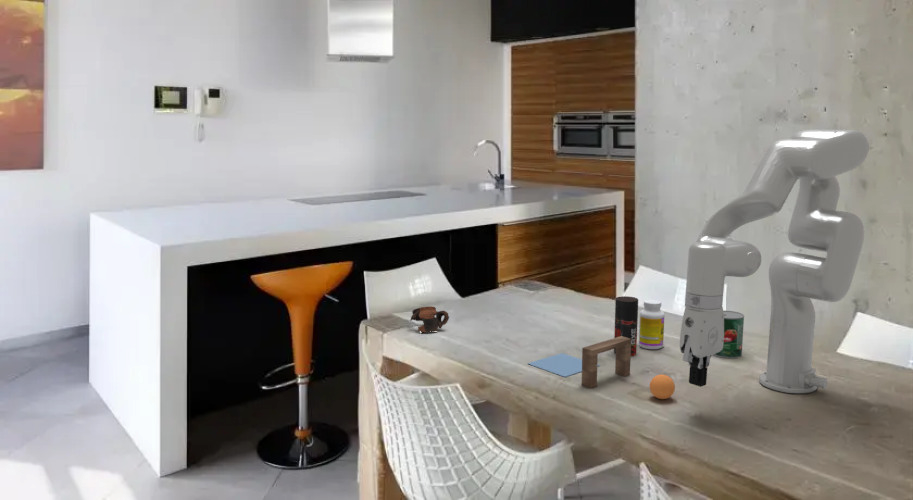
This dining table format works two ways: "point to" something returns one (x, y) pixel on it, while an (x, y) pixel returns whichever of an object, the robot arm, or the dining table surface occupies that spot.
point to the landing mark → (560, 364)
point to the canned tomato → (732, 335)
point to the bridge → (593, 350)
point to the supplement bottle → (651, 325)
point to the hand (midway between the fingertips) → (697, 384)
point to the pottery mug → (429, 318)
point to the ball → (662, 386)
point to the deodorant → (626, 320)
